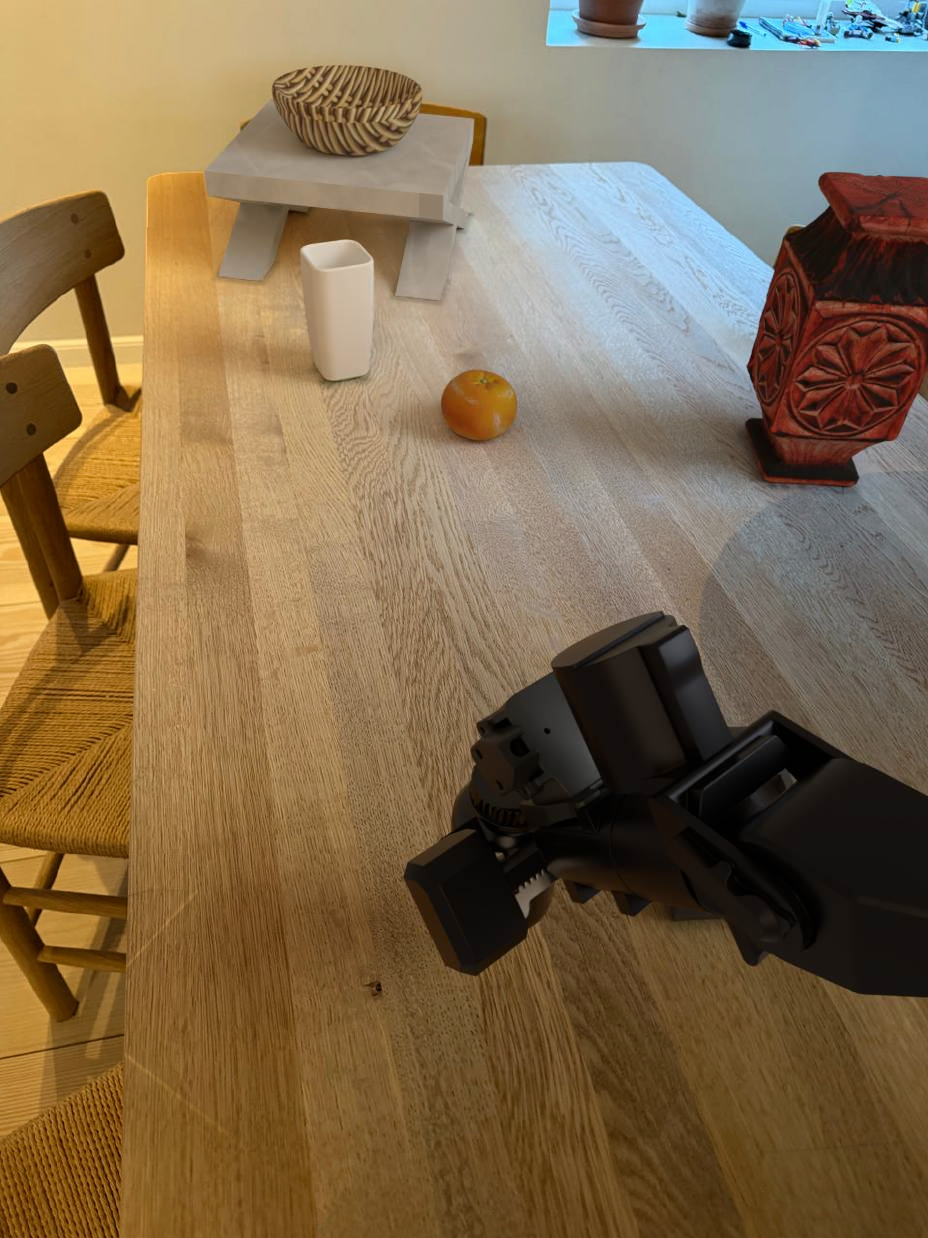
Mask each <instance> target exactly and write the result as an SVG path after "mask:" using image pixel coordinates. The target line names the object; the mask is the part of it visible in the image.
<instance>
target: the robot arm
mask: <svg viewBox="0 0 928 1238" xmlns="http://www.w3.org/2000/svg"><path fill="white" fill-rule="evenodd" d="M550 667H551V670H552V671H551V672H549V673H547V674H545V675H544V676H542V677H540V678H539V679H537V680H535V681H534V682H532V683H530V684H529V685H527V686H526V687H524V688H522V689H520V690H519V691H517V692H515V693H514V694H512V695H511V696H510V697H509V698H508V699H507V700H506V701H504V703H503V704H502V705H501V706H500V707H499V708H498V709H497V710H495V711H494V712H492V713H491V714H489V715H487V716H485V717H484V718H482V719H480V720H479V721H477V722H476V724H475V726H476V731H477V732H478V734H479V737H480V738H479V739H478V740H476V741H475V743H473V744H472V745H471V746H470V755H471V759H472V761H473V762H474V765H477V767H478V768H479V770H480V771H481V773H482V774H483V776H484V777H485V779H486V780H487V782H488V783H489V785H490V786H491V788H492V790H493V791H494V792H495V793H497V794H498V795H500V796H503V797H504V796H505V795H507V794H508V793H510V792H511V791H516V792H518V793H519V794H520V795H521V797H522V798H523V799H524V800H523V801H522V802H520V803H519V804H518V805H519V807H520V809H521V812H522V814H523V816H524V818H525V820H526V822H527V824H528V825H529V826H531V827H534V829H535V839H533V840H532V841H530V842H529V843H527V844H526V845H525V846H523V847H522V848H520V849H519V850H517V851H516V852H515V853H513V854H512V855H510V856H509V857H507V858H505V856H504V854H503V853H499V852H494V849H493V848H492V847H491V846H490V844H489V842H488V840H487V838H486V836H485V833H484V831H483V829H482V827H481V825H480V823H479V821H478V819H477V816H474V817H473V818H471V819H470V820H468V821H467V822H465V823H464V824H462V825H461V826H459V827H458V828H456V829H455V830H453V831H452V832H451V831H450V832H448V833H447V834H446V835H444V836H442V837H441V838H440V839H438V841H437V842H435V843H434V844H432V845H430V846H429V847H427V848H426V849H425V850H423V851H422V852H421V853H419V854H416V856H413V858H411V859H409V860H408V861H407V862H406V865H405V869H404V873H403V876H402V879H403V881H404V883H405V885H406V887H407V889H408V891H409V893H410V895H411V898H412V900H413V902H414V903H415V906H416V908H417V910H418V912H419V914H420V917H421V918H422V920H423V923H424V925H425V927H426V929H427V931H428V933H429V935H430V937H431V939H432V941H433V943H434V945H435V948H436V950H437V952H438V954H439V955H440V958H441V961H442V962H443V964H444V966H445V967H447V968H449V969H451V970H454V971H456V972H458V973H461V974H464V975H468V976H471V977H478V976H479V975H480V974H481V973H483V972H485V970H487V969H488V968H489V967H490V966H492V965H493V964H495V963H496V962H497V961H499V960H500V959H501V958H503V957H504V956H505V955H506V954H508V953H509V952H510V951H511V950H513V949H514V948H515V947H517V946H518V945H519V944H521V943H522V942H524V941H525V940H526V939H527V937H528V933H529V929H528V927H529V924H528V922H527V920H526V917H527V916H528V913H529V902H530V900H531V899H533V898H534V897H535V896H537V895H538V894H539V893H541V892H542V891H544V890H545V889H546V888H548V887H549V886H550V885H552V884H553V883H554V882H555V883H556V882H557V881H559V880H560V879H561V880H562V883H563V885H564V887H565V889H566V891H567V893H568V897H569V898H570V900H571V902H572V903H576V904H581V905H585V904H586V903H587V902H589V901H590V900H591V899H592V898H594V897H595V896H596V895H597V894H599V893H600V892H602V891H604V892H608V893H611V896H612V897H613V899H614V901H615V904H616V907H617V908H618V910H619V912H620V914H621V915H625V916H627V917H628V916H629V917H632V918H635V917H636V916H637V915H639V914H640V913H641V912H643V910H644V909H645V908H647V907H648V906H650V905H651V904H652V903H658V904H662V905H667V906H669V905H671V906H676V907H680V908H685V909H690V910H694V911H699V912H703V913H708V914H712V915H717V916H720V917H722V918H721V919H722V920H724V921H725V923H726V924H727V926H728V928H729V930H730V933H731V935H732V937H733V939H734V942H735V944H736V946H737V948H738V951H739V953H740V955H741V958H742V960H743V961H744V962H745V964H747V965H748V966H750V967H757V966H758V965H759V964H761V963H762V962H763V961H764V960H765V959H766V958H768V956H769V955H772V956H775V957H776V958H778V959H779V960H782V961H784V963H785V962H786V963H787V964H789V965H791V966H794V967H796V968H798V969H800V970H803V971H805V972H807V973H810V974H811V975H813V976H816V977H819V978H821V979H823V980H824V981H827V982H830V983H831V984H834V985H837V986H839V987H841V988H843V989H845V990H848V991H850V992H852V993H855V994H859V995H863V996H883V997H904V998H905V997H907V998H925V999H926V998H927V999H928V795H927V794H926V793H923V792H921V791H920V790H917V789H916V788H914V787H912V786H910V785H908V784H906V783H904V782H902V781H901V780H899V779H897V778H895V777H893V776H891V775H889V774H887V773H885V772H884V771H882V770H880V769H878V768H876V767H873V766H871V765H869V764H867V763H865V762H860V761H858V759H856V758H853V757H852V756H851V755H849V754H847V753H845V752H844V751H842V750H841V749H839V748H837V747H835V746H834V745H833V744H831V743H829V742H827V740H824V739H823V738H821V737H820V736H818V735H816V734H814V733H812V732H811V731H810V730H808V729H806V728H805V727H803V726H801V725H800V724H798V723H797V722H795V721H793V720H792V719H790V718H789V717H787V716H785V715H784V714H782V713H780V712H779V711H778V710H775V709H770V710H768V711H766V712H765V713H764V714H763V715H761V716H760V717H759V718H757V719H756V720H754V721H753V722H752V723H750V724H749V725H748V726H746V725H744V726H728V724H727V722H726V719H725V717H724V715H723V712H722V710H721V707H720V705H719V702H718V701H717V699H716V696H715V693H714V691H713V689H712V686H711V685H710V682H709V680H708V678H707V675H706V672H705V669H704V666H703V662H702V659H701V653H700V651H699V648H698V646H697V643H696V641H695V639H694V636H693V634H692V631H691V630H690V628H689V626H687V625H685V624H678V622H677V620H676V618H675V616H674V615H672V614H665V613H664V611H663V610H657V611H652V612H648V613H644V614H640V615H637V616H634V617H631V618H628V619H625V620H623V621H620V622H617V623H614V624H613V625H609V626H608V627H607V626H606V627H605V628H603V629H600V630H598V631H596V632H594V633H592V634H590V635H588V636H585V637H584V638H582V639H580V640H578V641H576V642H575V643H573V644H571V645H570V646H568V647H566V648H565V649H563V650H562V651H560V652H559V653H558V654H556V655H555V656H554V657H553V658H552V660H551V661H550ZM784 769H786V770H787V771H788V772H789V774H790V775H791V777H793V778H794V779H795V780H796V781H794V782H793V783H794V784H792V785H791V786H790V787H789V788H787V789H786V790H785V791H784V792H782V793H781V794H780V795H779V796H777V797H776V798H775V799H774V800H772V801H771V802H770V803H769V804H767V805H765V804H764V802H763V801H762V800H761V799H760V797H759V796H758V795H757V794H756V793H755V792H756V791H757V790H758V789H760V788H761V787H762V786H763V785H765V784H766V783H767V782H769V781H770V780H771V779H772V778H774V777H775V776H776V775H778V774H779V773H780V772H781V771H783V770H784ZM544 868H545V869H544ZM533 876H534V878H533ZM527 881H528V882H527ZM515 889H517V891H514V890H515Z"/></svg>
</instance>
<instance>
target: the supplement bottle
mask: <svg viewBox="0 0 928 1238" xmlns="http://www.w3.org/2000/svg"><path fill="white" fill-rule="evenodd" d="M523 800H524V799H523V798H522V797H521V795H520V794H519V793H518V792H516V791H511V792H510V793H508V794H507V795H505V796H504V797H503V796H500V795H498V794H497V793H495V792H494V791H493V790H492V788H491V786H490V785H489V783H488V782H487V780H486V779H485V777H484V776H483V774H482V773H481V771H480V770H479V768H478V767H477V765H476V764H474V765H473V768H472V771H471V775H470V780H469V781H468V782H467V783H466V784H465V785H464V786H463V787H462V788H461V790H460V791H459V792H458V794H457V796H456V797H455V800H454V803H453V805H452V810H451V817H450V818H451V819H450V821H451V822H450V823H451V825H450V832H452V831H453V830H455V829H456V828H458V827H459V826H461V825H462V824H464V823H465V822H467V821H468V820H470V819H471V818H473V817H474V816H477V819H478V821H479V823H480V825H481V827H482V829H483V831H484V833H485V836H486V838H487V840H488V842H489V844H490V846H491V847H492V848H493V849H494V852H499V853H503V854H504V856H505V858H507V857H509V856H510V855H512V854H513V853H515V852H516V851H517V850H519V849H520V848H522V847H523V846H525V845H526V844H527V843H529V842H530V841H532V840H533V839H535V829H534V827H531V826H529V825H528V824H527V822H526V820H525V818H524V816H523V814H522V812H521V809H520V807H519V805H518V804H519V803H520V802H522V801H523ZM544 869H545V868H544ZM533 878H534V876H533ZM527 882H528V881H527ZM555 886H556V882H554V883H553V884H552V885H550V886H549V887H548V888H546V889H545V890H544V891H542V892H541V893H539V894H538V895H537V896H535V897H534V898H533V899H531V900H530V902H529V913H528V916H527V917H526V920H527V922H528V924H529V927H528V930H529V929H531V928H533V927H534V926H536V925H537V924H538V923H540V922H541V920H542V919H543V918H544V917H545V915H546V914H547V912H548V911H549V909H550V907H551V904H552V900H553V896H554V891H555V888H556V887H555ZM514 891H517V889H515V890H514Z"/></svg>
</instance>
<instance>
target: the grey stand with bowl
mask: <svg viewBox="0 0 928 1238" xmlns="http://www.w3.org/2000/svg"><path fill="white" fill-rule="evenodd" d="M271 95H272V98H270V99H269V100H268V101H267V102H266V103H265V104H264V106H263V107H262V108H261V109H260V110H259V111H258V112H257V113H256V114H255V115H254V117H252V119H250V121H249V122H247V124H246V125H245V126H244V127H243V128H242V129H241V130H240V131H239V132H238V133H237V134H236V136H234V138H233V139H232V140H230V142H229V143H228V144H227V145H226V146H225V148H223V149H222V151H220V152H219V154H218V155H217V156H216V157H215V158H214V159H213V160H212V161H211V162H210V163H209V164H208V166H207V167H206V168H205V169H204V170H203V176H204V184H205V191H206V196H207V197H211V198H216V199H221V200H225V201H231V202H236V203H239V205H238V209H237V212H236V216H235V219H234V222H233V225H232V229H231V232H230V234H229V235H230V236H229V238H228V242H227V245H226V248H225V251H224V255H223V257H222V261H221V265H220V267H219V271H218V274H217V277H219V278H220V277H221V278H229V279H238V280H249V281H256V282H263V280H264V278H265V277H266V275H267V274H268V272H269V271H270V269H271V268H272V266H273V265H274V264H275V261H276V258H277V253H278V250H279V246H280V243H281V240H282V236H283V233H284V227H285V224H286V221H287V219H288V214H289V212H297V213H298V212H300V213H308V212H309V210H310V208H311V207H312V208H313V207H314V208H320V209H321V208H322V209H332V210H339V211H340V210H341V211H350V212H351V211H352V212H359V213H360V212H361V213H372V214H380V215H390V216H396V217H400V218H403V219H406V220H409V221H410V224H409V229H408V233H407V238H406V242H405V248H404V251H403V257H402V261H401V266H400V269H399V270H400V271H399V275H398V279H397V285H396V288H395V289H396V290H395V294H394V296H395V297H404V298H413V299H422V300H432V301H441V300H442V299H441V298H442V296H443V293H444V289H445V287H446V284H447V281H448V275H449V270H450V265H451V260H452V254H453V250H454V245H455V238H456V233H457V229H466V225H467V222H468V218H469V215H470V212H468V211H466V210H464V209H462V208H461V207H462V202H463V196H464V190H465V186H466V181H467V175H468V171H469V165H470V159H471V153H472V150H473V149H472V148H473V144H474V132H475V131H474V130H475V118H472V117H463V116H451V115H442V114H432V113H431V114H430V113H422V112H421V113H420V110H421V106H422V102H423V90H422V88H421V85H420V84H419V83H418V82H417V81H416V80H414V79H413V78H411V77H409V76H407V75H404V74H401V73H399V72H397V71H392V70H389V69H383V68H378V67H371V66H365V65H352V64H351V65H350V64H347V65H346V64H345V65H343V64H342V65H341V64H334V65H333V64H332V65H317V66H309V67H304V68H299V69H296V70H295V69H294V70H292V71H289V72H286V73H285V74H282V75H280V76H279V77H278V78H276V79H275V80H274V81H273V83H272V84H271Z"/></svg>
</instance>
